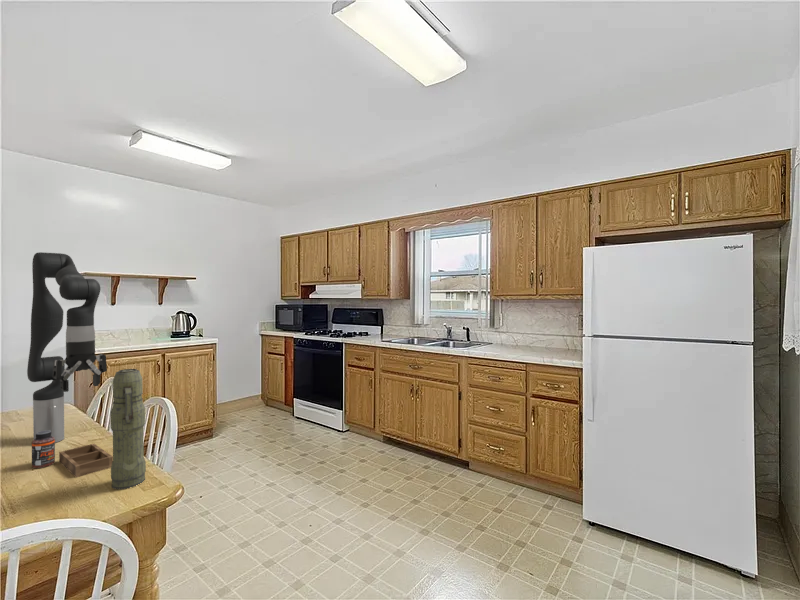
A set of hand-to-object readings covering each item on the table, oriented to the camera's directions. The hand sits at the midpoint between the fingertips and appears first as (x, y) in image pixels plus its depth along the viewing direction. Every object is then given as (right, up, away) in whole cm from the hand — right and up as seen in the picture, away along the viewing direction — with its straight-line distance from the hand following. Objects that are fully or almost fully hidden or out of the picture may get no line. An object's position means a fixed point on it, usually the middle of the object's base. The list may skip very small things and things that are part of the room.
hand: (81, 388), depth 133 cm
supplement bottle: (-16, -27, +5) cm, 32 cm away
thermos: (+21, -28, -8) cm, 35 cm away
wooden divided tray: (-3, -27, +5) cm, 28 cm away
